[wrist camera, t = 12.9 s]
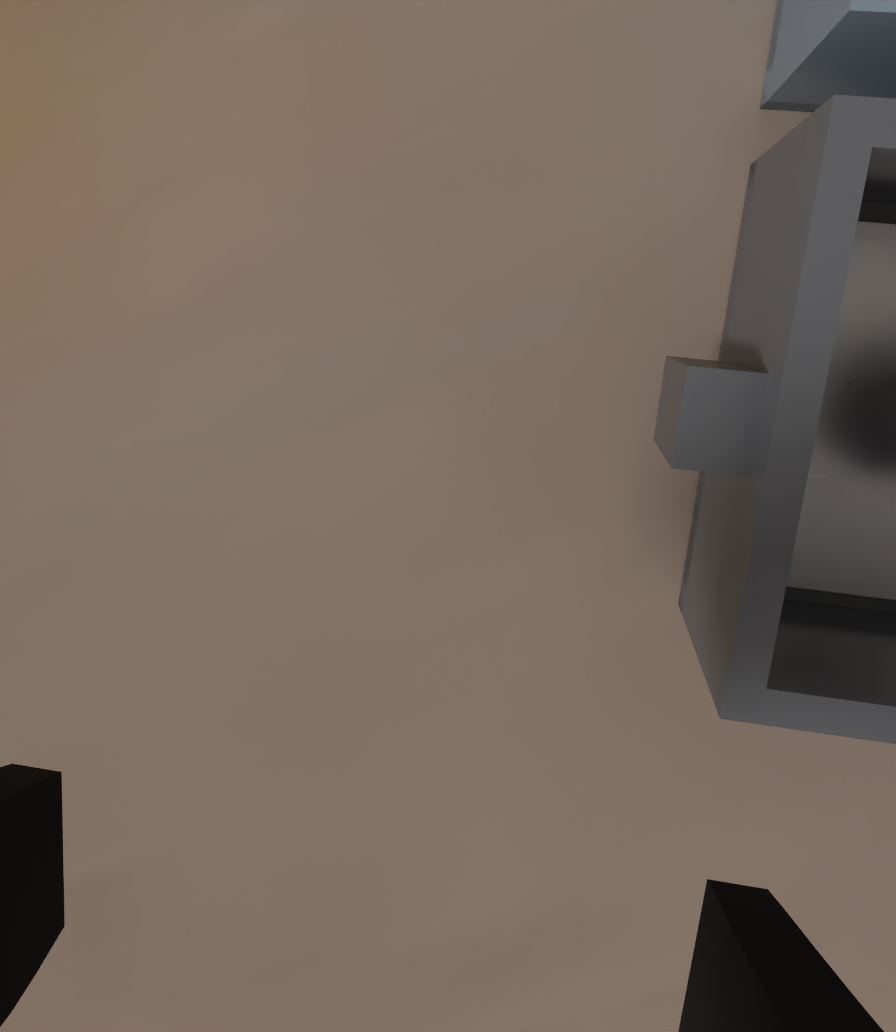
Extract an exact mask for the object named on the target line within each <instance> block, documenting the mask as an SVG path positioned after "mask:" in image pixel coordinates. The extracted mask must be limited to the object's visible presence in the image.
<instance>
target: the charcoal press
mask: <svg viewBox="0 0 896 1032" xmlns="http://www.w3.org/2000/svg"><path fill="white" fill-rule="evenodd" d="M858 221H859V222H872V223H885V224H896V99H895V98H879V97H863V96H846V95H833V96H832V97H831V98H830V99H828V100H827V101H826V102H825V103H824V104H823V105H821V106H820V107H819V108H818V109H817V110H815V111H814V112H813V113H812V114H811V115H809V116H808V117H807V118H806V119H805V120H803V121H802V122H801V123H800V124H799V125H797V126H796V127H795V128H794V129H793V130H792V131H790V132H789V133H788V134H787V135H786V136H784V137H783V138H782V139H781V140H780V141H778V142H777V143H776V144H775V145H774V146H772V147H771V148H770V149H769V150H768V151H767V152H765V153H764V154H763V155H762V156H761V157H759V158H758V159H757V160H756V161H755V162H753V163H752V164H751V166H750V172H749V178H748V184H747V190H746V196H745V203H744V209H743V215H742V221H741V227H740V233H739V239H738V245H737V251H736V257H735V263H734V269H733V275H732V282H731V288H730V294H729V300H728V306H727V312H726V318H725V324H724V330H723V336H722V342H721V348H720V354H719V361H713V360H703V359H692V358H682V357H672V356H666V360H665V366H664V373H663V380H662V387H661V393H660V400H659V407H658V413H657V420H656V427H655V433H654V441H655V442H656V444H657V446H658V447H659V449H660V450H661V452H662V453H663V455H664V457H665V458H666V460H667V461H668V463H669V464H670V466H671V468H676V469H685V470H694V471H700V476H699V482H698V488H697V494H696V500H695V506H694V512H693V519H692V525H691V531H690V537H689V543H688V549H687V555H686V561H685V567H684V573H683V579H682V585H681V591H680V598H679V607H680V610H681V612H682V615H683V618H684V621H685V623H686V626H687V629H688V632H689V635H690V637H691V640H692V643H693V646H694V648H695V651H696V654H697V657H698V659H699V662H700V665H701V668H702V670H703V673H704V676H705V679H706V681H707V684H708V687H709V690H710V692H711V695H712V698H713V701H714V704H715V706H716V709H717V712H718V715H719V717H720V719H727V720H734V721H741V722H748V723H755V724H762V725H769V726H775V727H782V728H789V729H796V730H803V731H810V732H817V733H824V734H831V735H838V736H845V737H851V738H858V739H865V740H872V741H879V742H886V743H893V744H896V600H891V599H883V598H875V597H867V596H860V595H852V594H844V593H836V592H828V591H820V590H812V589H804V588H796V587H788V586H786V585H787V580H788V575H789V570H790V565H791V560H792V555H793V549H794V544H795V539H796V534H797V529H798V524H799V519H800V514H801V509H802V503H803V498H804V493H805V488H806V483H807V478H808V473H809V468H810V463H811V457H812V452H813V447H814V442H815V437H816V432H817V427H818V422H819V417H820V411H821V406H822V401H823V396H824V391H825V386H826V381H827V376H828V371H829V365H830V360H831V355H832V350H833V345H834V340H835V335H836V330H837V325H838V319H839V314H840V309H841V304H842V299H843V294H844V289H845V284H846V279H847V273H848V268H849V263H850V258H851V253H852V248H853V243H854V238H855V233H856V227H857V222H858Z"/></svg>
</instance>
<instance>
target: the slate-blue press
mask: <svg viewBox="0 0 896 1032" xmlns="http://www.w3.org/2000/svg"><path fill="white" fill-rule="evenodd" d="M833 95H846V96H863V97H879V98H895V99H896V0H778V2H777V8H776V14H775V20H774V26H773V32H772V38H771V45H770V51H769V57H768V63H767V69H766V75H765V81H764V87H763V93H762V99H761V105H760V109H771V110H787V111H802V112H814V111H815V110H817V109H818V108H819V107H820V106H821V105H823V104H824V103H825V102H826V101H827V100H828V99H830V98H831V97H832V96H833Z"/></svg>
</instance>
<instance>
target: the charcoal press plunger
mask: <svg viewBox="0 0 896 1032" xmlns="http://www.w3.org/2000/svg"><path fill="white" fill-rule="evenodd" d="M786 586H788V587H796V588H804V589H812V590H820V591H828V592H836V593H844V594H852V595H860V596H867V597H875V598H883V599H891V600H896V224H885V223H872V222H859V221H858V222H857V227H856V233H855V238H854V243H853V248H852V253H851V258H850V263H849V268H848V273H847V279H846V284H845V289H844V294H843V299H842V304H841V309H840V314H839V319H838V325H837V330H836V335H835V340H834V345H833V350H832V355H831V360H830V365H829V371H828V376H827V381H826V386H825V391H824V396H823V401H822V406H821V411H820V417H819V422H818V427H817V432H816V437H815V442H814V447H813V452H812V457H811V463H810V468H809V473H808V478H807V483H806V488H805V493H804V498H803V503H802V509H801V514H800V519H799V524H798V529H797V534H796V539H795V544H794V549H793V555H792V560H791V565H790V570H789V575H788V580H787V585H786Z"/></svg>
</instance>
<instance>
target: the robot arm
mask: <svg viewBox="0 0 896 1032" xmlns="http://www.w3.org/2000/svg"><path fill="white" fill-rule="evenodd" d="M63 928H64V878H63V829H62V780H61V772H58V771H52V770H46V769H40V768H34V767H28V766H22V765H16V764H10V765H6V766H3V767H0V1026H1V1025H2V1024H3V1022H4V1021H5V1020H6V1018H7V1017H8V1016H9V1015H10V1013H11V1012H12V1010H13V1009H14V1007H15V1006H16V1004H17V1002H18V1001H19V999H20V998H21V996H22V995H23V993H24V992H25V990H26V988H27V987H28V985H29V984H30V982H31V981H32V979H33V977H34V976H35V974H36V973H37V971H38V969H39V968H40V966H41V964H42V963H43V961H44V959H45V958H46V956H47V954H48V953H49V951H50V949H51V948H52V946H53V944H54V943H55V941H56V939H57V938H58V936H59V934H60V933H61V931H62V929H63ZM679 1032H884V1031H883V1030H882V1029H881V1028H880V1027H879V1025H878V1024H877V1023H876V1022H875V1021H874V1020H873V1018H872V1017H871V1016H870V1015H869V1014H868V1012H867V1011H866V1010H865V1009H864V1008H863V1006H862V1005H861V1004H860V1003H859V1002H858V1000H857V999H856V998H855V997H854V995H853V994H852V993H851V992H850V991H849V989H848V988H847V987H846V986H845V984H844V983H843V982H842V981H841V980H840V978H839V977H838V976H837V975H836V973H835V972H834V971H833V970H832V968H831V967H830V966H829V965H828V963H827V962H826V961H825V960H824V959H823V957H822V956H821V955H820V954H819V952H818V951H817V950H816V949H815V947H814V946H813V945H812V944H811V942H810V941H809V940H808V939H807V937H806V936H805V935H804V933H803V932H802V931H801V930H800V928H799V927H798V926H797V925H796V923H795V922H794V921H793V920H792V918H791V917H790V916H789V915H788V913H787V912H786V911H785V910H784V908H783V907H782V906H781V905H780V903H779V902H778V901H777V900H776V899H775V897H774V896H773V895H772V894H771V893H770V891H769V890H768V889H762V888H756V887H750V886H744V885H738V884H732V883H726V882H720V881H714V880H708V879H707V884H706V889H705V894H704V900H703V905H702V910H701V916H700V921H699V926H698V932H697V937H696V942H695V947H694V953H693V958H692V963H691V969H690V974H689V979H688V985H687V990H686V995H685V1000H684V1006H683V1011H682V1016H681V1022H680V1027H679Z"/></svg>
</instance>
